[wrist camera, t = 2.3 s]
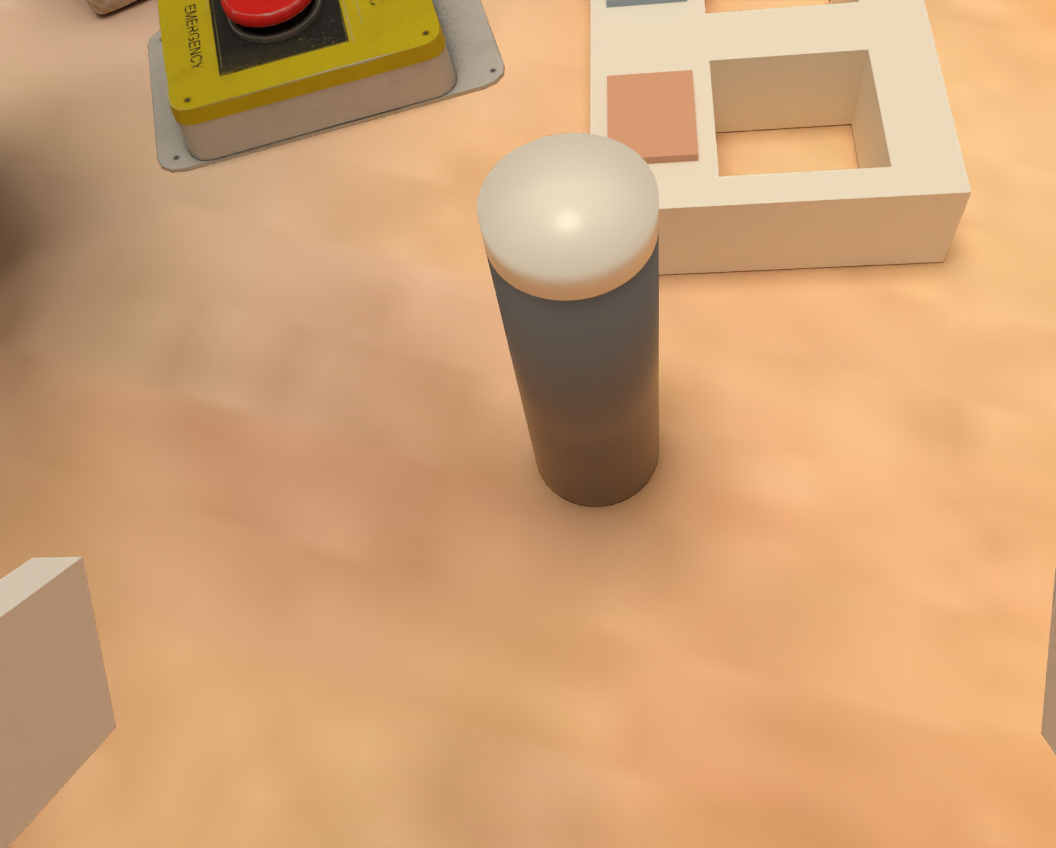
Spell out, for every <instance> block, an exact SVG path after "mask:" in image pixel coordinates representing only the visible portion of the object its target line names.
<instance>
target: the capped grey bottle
mask: <svg viewBox="0 0 1056 848" xmlns="http://www.w3.org/2000/svg"><path fill="white" fill-rule="evenodd" d="M477 214H478V220H479V225H480V229H481V233H482V237H483V241H484V245H485V250H486V254H487V258H488V262H489V266H490V271H491V275H492V279H493V283H494V287H495V291H496V296H497V300H498V304H499V308H500V312H501V316H502V321H503V325H504V329H505V333H506V337H507V341H508V346H509V350H510V354H511V358H512V362H513V366H514V371H515V375H516V379H517V383H518V387H519V391H520V396H521V400H522V404H523V408H524V412H525V416H526V421H527V425H528V429H529V433H530V437H531V442H532V446H533V450H534V454H535V458H536V462H537V466H538V469H539V472H540V474H541V476H542V478H543V480H544V481H545V483H546V484H547V485H548V486H549V487H550V488H551V489H552V491H554V492H555V493H556V494H557V495H559V496H560V497H562V498H564V499H565V500H568V501H570V502H572V503H576V504H579V505H584V506H594V507H598V506H607V505H612V504H616V503H619V502H622V501H624V500H626V499H628V498H630V497H631V496H633V495H634V494H636V493H637V492H638V491H639V490H641V489H642V488H643V487H644V486H645V484H646V483H647V482H648V481H649V479H650V478H651V476H652V474H653V472H654V470H655V467H656V465H657V460H658V450H659V192H658V185H657V182H656V179H655V176H654V174H653V172H652V170H651V168H650V167H649V166H648V164H647V163H646V161H645V160H644V159H643V158H642V157H641V156H640V155H639V154H638V153H636V152H635V151H634V150H632V149H631V148H629V147H628V146H626V145H624V144H623V143H621V142H618V141H616V140H613V139H611V138H607V137H604V136H600V135H595V134H588V133H563V134H555V135H551V136H546V137H542V138H539V139H536V140H533V141H531V142H529V143H526V144H524V145H522V146H520V147H518V148H517V149H515V150H513V151H512V152H511V153H509V154H508V155H506V156H505V157H504V158H503V159H502V160H500V161H499V162H498V163H497V164H496V165H495V167H494V168H493V169H492V170H491V171H490V173H489V174H488V176H487V177H486V179H485V181H484V183H483V185H482V187H481V190H480V193H479V196H478V203H477Z"/></svg>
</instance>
